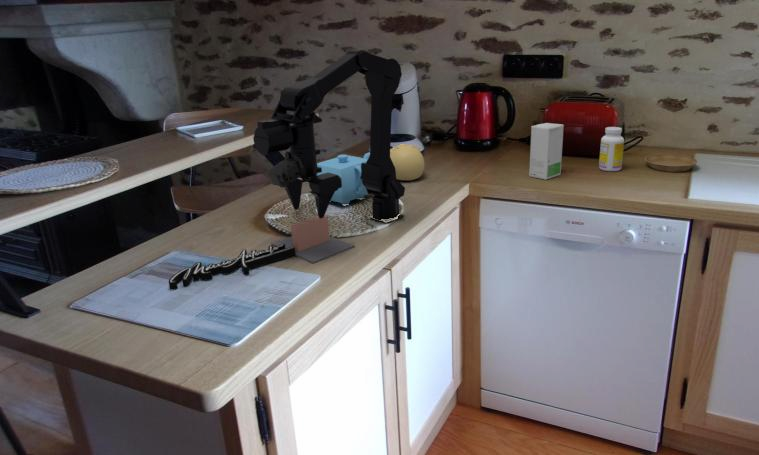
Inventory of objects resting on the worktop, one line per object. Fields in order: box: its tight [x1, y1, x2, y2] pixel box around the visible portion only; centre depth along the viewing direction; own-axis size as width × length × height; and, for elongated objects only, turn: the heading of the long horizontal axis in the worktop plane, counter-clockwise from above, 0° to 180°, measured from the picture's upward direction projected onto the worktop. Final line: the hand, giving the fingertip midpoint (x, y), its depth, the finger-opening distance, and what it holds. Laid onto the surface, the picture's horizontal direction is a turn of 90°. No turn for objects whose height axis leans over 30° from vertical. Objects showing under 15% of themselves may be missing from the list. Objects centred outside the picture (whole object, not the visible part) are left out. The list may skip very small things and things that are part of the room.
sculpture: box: [390, 143, 425, 181], centre depth 181 cm, size 12×12×11 cm
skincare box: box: [528, 122, 565, 181], centre depth 175 cm, size 8×7×16 cm
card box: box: [290, 214, 330, 252], centre depth 133 cm, size 9×2×6 cm, turn 134°
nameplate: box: [168, 244, 296, 290], centre depth 124 cm, size 27×2×10 cm
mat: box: [270, 235, 356, 264], centre depth 135 cm, size 12×16×1 cm
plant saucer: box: [644, 153, 698, 173], centre depth 180 cm, size 15×15×3 cm
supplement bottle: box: [598, 126, 625, 172], centre depth 179 cm, size 7×7×13 cm
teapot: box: [317, 151, 370, 205], centre depth 165 cm, size 18×16×13 cm
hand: (308, 213), depth 132 cm, fingers open, 9 cm apart
